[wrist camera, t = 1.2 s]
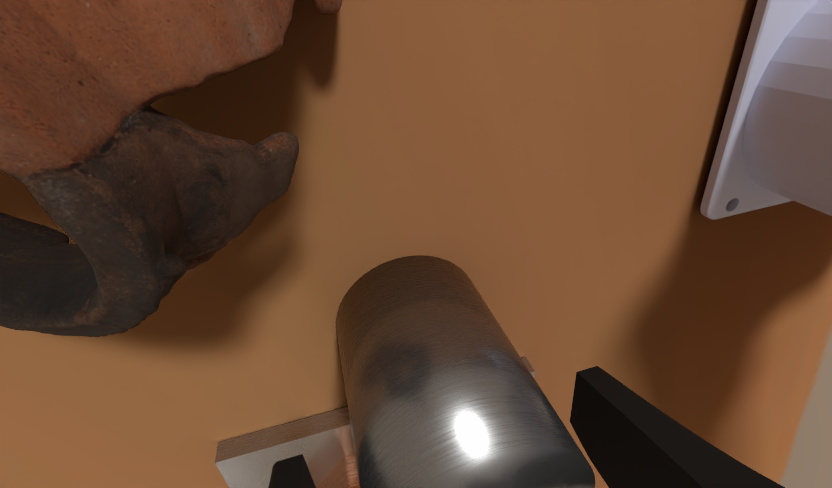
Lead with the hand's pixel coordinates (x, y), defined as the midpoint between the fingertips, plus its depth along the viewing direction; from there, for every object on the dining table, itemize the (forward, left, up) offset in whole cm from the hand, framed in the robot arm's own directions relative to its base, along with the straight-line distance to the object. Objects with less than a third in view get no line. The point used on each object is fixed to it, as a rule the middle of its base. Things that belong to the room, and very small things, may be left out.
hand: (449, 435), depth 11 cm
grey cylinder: (0, 0, -5) cm, 5 cm away
